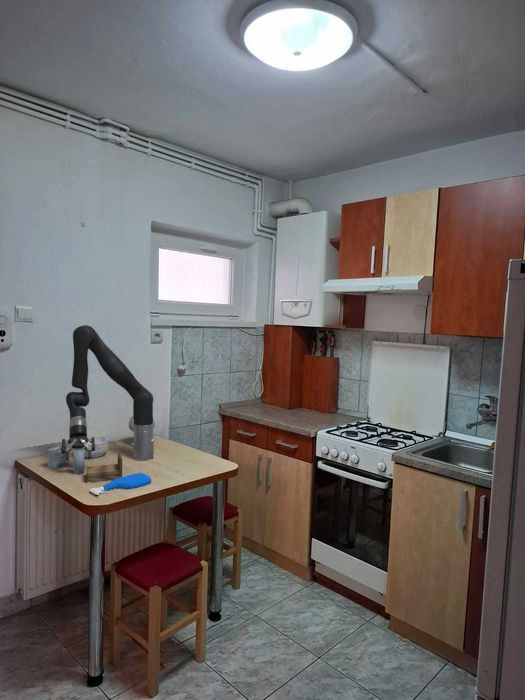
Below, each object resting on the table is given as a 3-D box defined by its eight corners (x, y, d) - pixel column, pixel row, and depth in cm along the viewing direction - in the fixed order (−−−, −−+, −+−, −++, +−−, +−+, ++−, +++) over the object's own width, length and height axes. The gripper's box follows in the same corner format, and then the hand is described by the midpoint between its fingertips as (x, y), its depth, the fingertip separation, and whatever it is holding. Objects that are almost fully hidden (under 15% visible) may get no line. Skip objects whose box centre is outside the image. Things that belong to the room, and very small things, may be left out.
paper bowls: (71, 454, 238) (71, 438, 238) (101, 449, 248) (101, 434, 248) (83, 461, 227) (82, 445, 226) (113, 456, 237) (113, 440, 236)
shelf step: (119, 472, 213) (119, 452, 212) (122, 479, 203) (122, 459, 203) (86, 475, 207) (86, 455, 207) (87, 483, 198) (87, 462, 198)
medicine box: (56, 468, 216) (56, 449, 215) (47, 467, 217) (47, 449, 216) (66, 463, 224) (66, 445, 223) (58, 462, 225) (58, 444, 224)
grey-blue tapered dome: (84, 470, 214) (84, 448, 213) (84, 474, 210) (84, 451, 209) (73, 471, 212) (73, 449, 211) (73, 475, 208) (73, 452, 207)
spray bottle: (139, 471, 207) (85, 485, 190) (153, 477, 199) (98, 492, 182) (140, 478, 207) (85, 492, 190) (153, 484, 200) (98, 500, 182)
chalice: (129, 448, 251) (129, 420, 250) (127, 441, 265) (127, 415, 264) (156, 446, 256) (156, 419, 255) (153, 440, 269) (153, 414, 268)
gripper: (61, 424, 215) (61, 456, 205) (94, 423, 220) (95, 454, 210) (61, 433, 220) (61, 465, 210) (94, 431, 225) (95, 462, 215)
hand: (78, 459), depth 210 cm, fingers open, 8 cm apart
